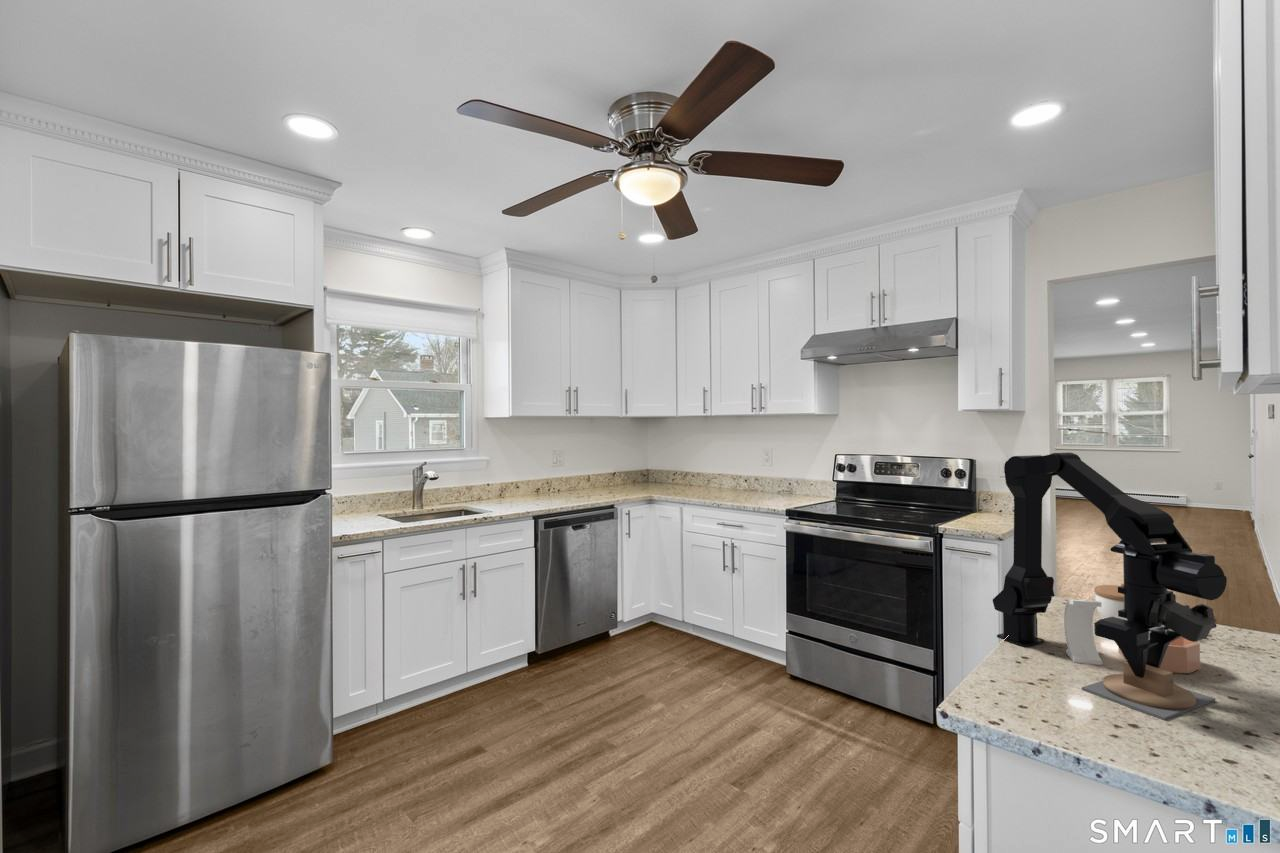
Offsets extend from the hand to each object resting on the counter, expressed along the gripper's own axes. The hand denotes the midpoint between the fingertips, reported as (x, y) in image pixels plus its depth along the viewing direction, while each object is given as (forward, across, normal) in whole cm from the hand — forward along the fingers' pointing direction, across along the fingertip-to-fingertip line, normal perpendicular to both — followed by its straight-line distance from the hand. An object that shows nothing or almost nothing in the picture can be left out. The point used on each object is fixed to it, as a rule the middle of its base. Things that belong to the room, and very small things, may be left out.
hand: (1146, 674), depth 102 cm
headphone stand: (+4, +8, +14) cm, 17 cm away
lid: (+3, 0, 0) cm, 3 cm away
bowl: (+4, +18, +7) cm, 20 cm away
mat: (+4, 0, 0) cm, 4 cm away
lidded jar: (+4, +36, +22) cm, 42 cm away
